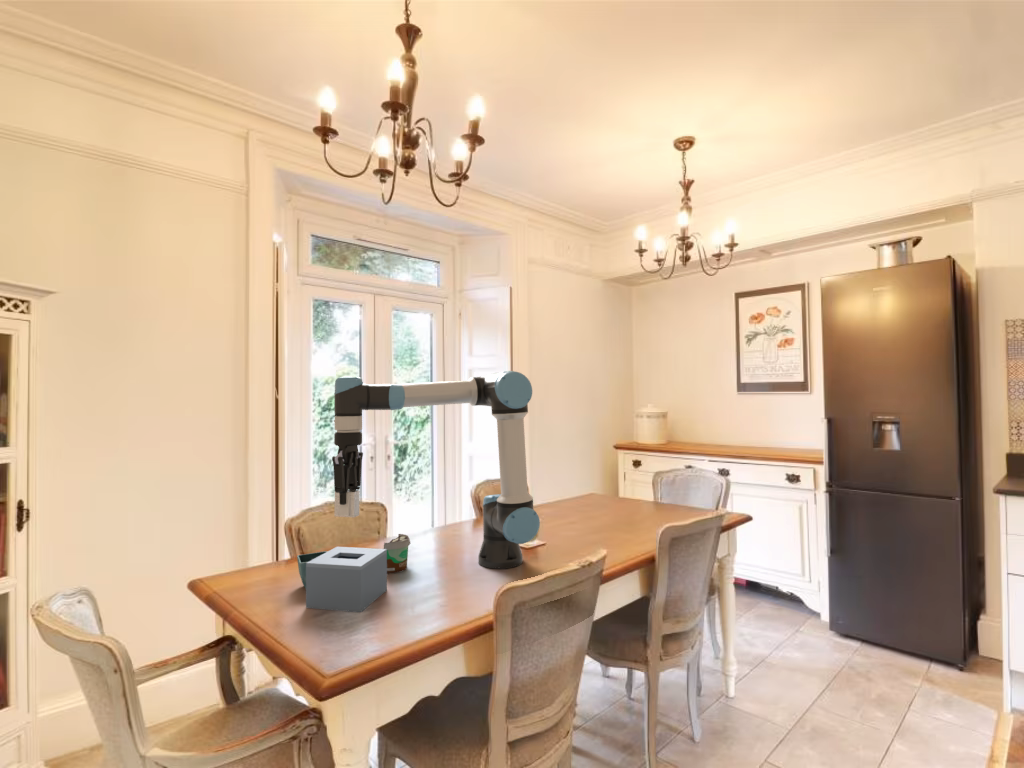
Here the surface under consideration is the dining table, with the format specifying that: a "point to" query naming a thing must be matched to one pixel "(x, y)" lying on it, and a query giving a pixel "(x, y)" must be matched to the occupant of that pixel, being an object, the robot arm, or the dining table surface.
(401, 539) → the food container
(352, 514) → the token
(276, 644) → the dining table surface
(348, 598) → the coin box
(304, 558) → the flower pot
